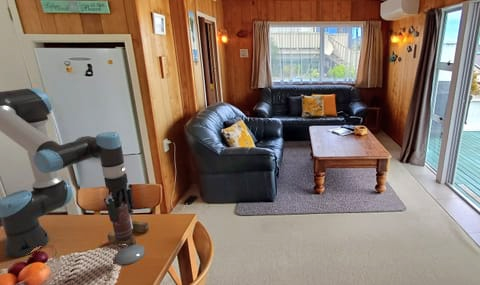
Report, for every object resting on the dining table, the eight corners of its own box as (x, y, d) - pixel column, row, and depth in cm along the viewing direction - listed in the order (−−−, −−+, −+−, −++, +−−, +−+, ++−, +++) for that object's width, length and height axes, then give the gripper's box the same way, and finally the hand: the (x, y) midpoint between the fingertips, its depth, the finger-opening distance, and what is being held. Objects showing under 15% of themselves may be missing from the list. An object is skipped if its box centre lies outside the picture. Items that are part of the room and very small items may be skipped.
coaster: (109, 262, 111) (108, 260, 111) (126, 245, 121) (126, 243, 121) (134, 266, 108) (133, 264, 108) (150, 248, 118) (149, 246, 118)
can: (136, 233, 113) (130, 200, 109) (126, 243, 107) (120, 208, 103) (122, 232, 115) (116, 199, 111) (112, 241, 109) (105, 207, 105)
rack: (108, 243, 123) (107, 235, 122) (125, 227, 134) (124, 220, 133) (133, 246, 120) (132, 238, 119) (148, 230, 131) (147, 222, 130)
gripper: (108, 185, 97) (121, 245, 103) (137, 167, 112) (146, 220, 118) (89, 183, 98) (103, 243, 105) (120, 166, 114) (130, 219, 120)
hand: (126, 231), depth 112 cm, fingers open, 3 cm apart
